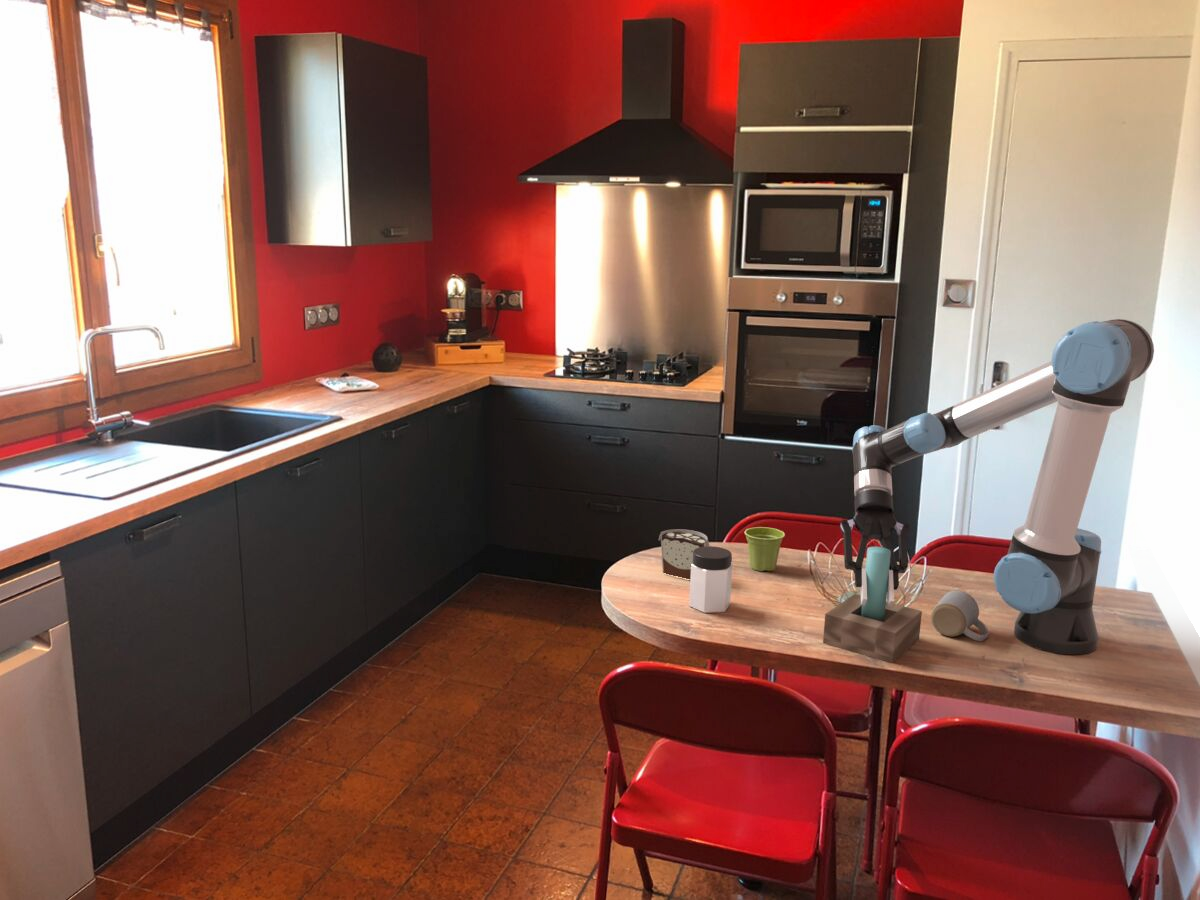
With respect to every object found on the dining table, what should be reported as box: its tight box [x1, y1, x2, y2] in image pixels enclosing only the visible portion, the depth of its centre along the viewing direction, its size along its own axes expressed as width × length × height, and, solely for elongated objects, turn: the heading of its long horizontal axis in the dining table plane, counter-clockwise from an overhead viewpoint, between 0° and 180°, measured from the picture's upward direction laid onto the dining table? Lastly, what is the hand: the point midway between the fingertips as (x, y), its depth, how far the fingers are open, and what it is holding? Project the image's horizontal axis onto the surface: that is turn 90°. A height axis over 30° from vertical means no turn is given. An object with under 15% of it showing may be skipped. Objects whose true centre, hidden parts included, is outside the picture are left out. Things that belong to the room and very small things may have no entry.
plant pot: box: [744, 526, 786, 572], centre depth 234 cm, size 9×9×9 cm
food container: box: [658, 528, 710, 579], centre depth 228 cm, size 12×6×10 cm, turn 58°
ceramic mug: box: [930, 590, 990, 642], centre depth 198 cm, size 11×8×8 cm
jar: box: [688, 545, 733, 614], centre depth 209 cm, size 9×8×12 cm
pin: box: [861, 546, 891, 622], centre depth 192 cm, size 4×4×15 cm
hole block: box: [822, 593, 923, 664], centre depth 194 cm, size 14×14×6 cm
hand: (877, 602), depth 189 cm, fingers closed on pin, 4 cm apart
